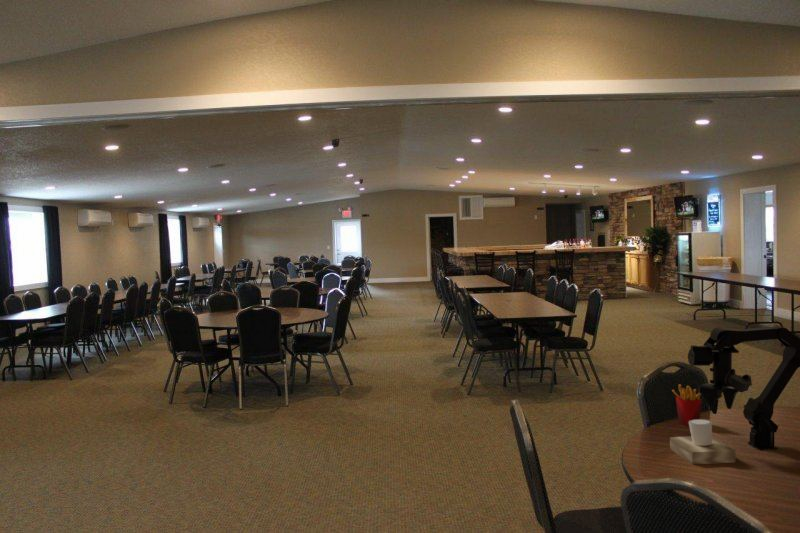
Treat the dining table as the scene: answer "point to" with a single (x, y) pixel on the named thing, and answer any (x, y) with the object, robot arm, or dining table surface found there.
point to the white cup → (701, 432)
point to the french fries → (688, 405)
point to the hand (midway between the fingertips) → (721, 411)
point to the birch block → (702, 451)
